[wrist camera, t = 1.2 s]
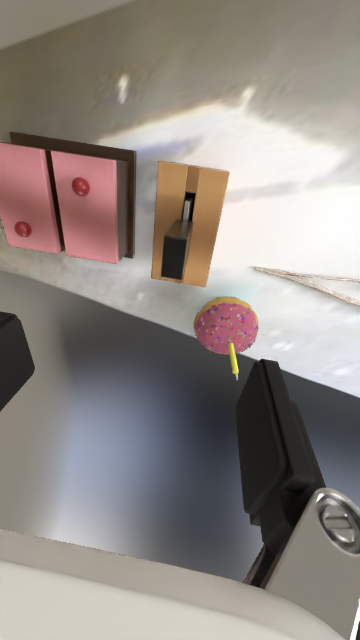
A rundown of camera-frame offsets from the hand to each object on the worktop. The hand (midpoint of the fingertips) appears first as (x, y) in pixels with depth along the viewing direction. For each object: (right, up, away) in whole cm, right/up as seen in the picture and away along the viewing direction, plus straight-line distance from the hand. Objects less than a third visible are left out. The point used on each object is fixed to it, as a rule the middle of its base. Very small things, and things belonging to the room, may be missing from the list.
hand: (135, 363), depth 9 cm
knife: (+3, +14, +19) cm, 23 cm away
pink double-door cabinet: (-11, +17, +20) cm, 28 cm away
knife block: (+3, +14, +19) cm, 24 cm away
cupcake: (+9, +3, +26) cm, 28 cm away
